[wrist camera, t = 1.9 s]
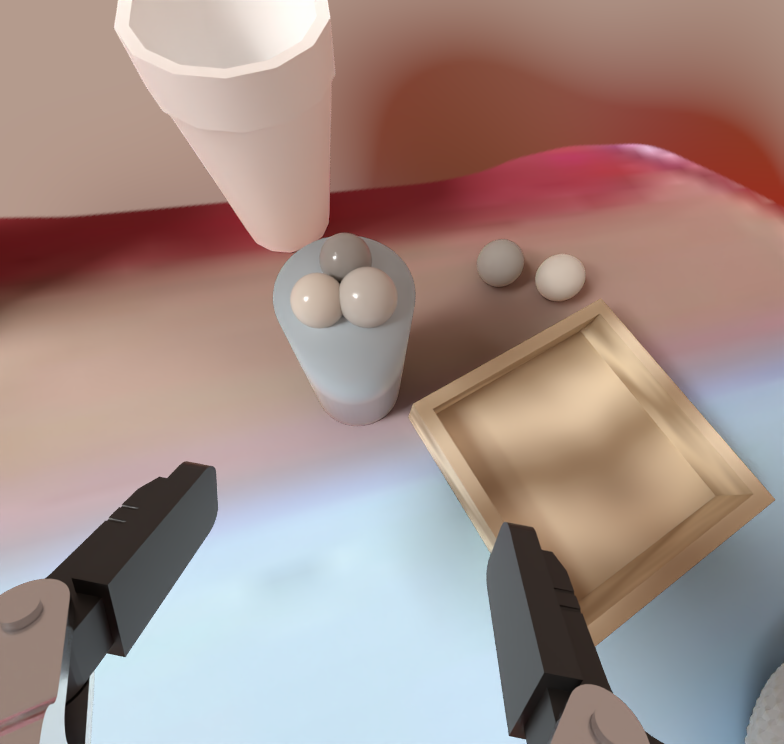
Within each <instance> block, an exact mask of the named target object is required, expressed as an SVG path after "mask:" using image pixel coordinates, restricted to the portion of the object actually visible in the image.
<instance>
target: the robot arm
mask: <svg viewBox="0 0 784 744" xmlns="http://www.w3.org/2000/svg"><path fill="white" fill-rule="evenodd" d="M217 511H218V501H217V482H216V470H215V468H214V467H213V466H208V465H203V464H198V463H192V462H183V463H182V464H181V465H179V466H178V467H177V469H176V470H175V471H174V472H173V473H172V474H171V475H170V476H169V477H168V478H163V477H158V478H157V479H155V480H153V481H151V482H149V483H148V484H146V485H144V486H142V487H140V488H139V489H138V490H136V491H135V492H134V493H133V494H132V495H131V496H130V497H129V498H128V499H127V500H126V501H125V502H124V503H123V504H122V507H121V508H120V507H119V508H118V509H117V510H116V511H115V512H114V513H113V514H112V515H111V516H110V517H109V519H108V521H105V522H104V523H103V524H102V525H100V526H99V527H98V528H97V529H96V530H95V531H94V532H93V533H92V534H91V535H90V536H89V537H88V538H87V539H86V540H85V541H84V542H83V543H82V544H81V545H80V546H79V547H78V548H77V549H76V550H75V551H74V552H73V553H72V554H71V555H70V556H69V557H68V558H67V559H66V560H64V561H63V562H62V563H61V564H60V565H59V566H58V567H57V568H56V569H55V570H54V571H53V572H52V573H51V574H50V575H49V576H48V577H46V578H45V579H39V580H34V581H30V582H27V583H24V584H21V585H18V586H16V587H14V588H12V589H10V590H8V591H6V592H4V593H3V594H1V595H0V744H91V732H92V715H93V698H94V681H95V674H94V670H95V669H96V667H97V666H98V665H99V663H100V662H101V660H102V659H103V658H104V656H105V655H106V653H108V654H113V655H118V656H123V657H126V655H127V654H128V652H129V651H130V649H131V648H132V646H133V645H134V643H135V642H136V640H137V639H138V637H139V636H140V635H141V633H142V632H143V630H144V629H145V627H146V626H147V624H148V623H149V621H150V620H151V618H152V617H153V615H154V614H155V612H156V611H157V609H158V608H159V606H160V605H161V603H162V602H163V600H164V599H165V598H166V596H167V595H168V593H169V592H170V590H171V589H172V587H173V586H174V584H175V583H176V581H177V580H178V578H179V577H180V575H181V574H182V572H183V571H184V569H185V568H186V566H187V565H188V563H189V562H190V560H191V559H192V558H193V556H194V555H195V553H196V552H197V550H198V549H199V547H200V546H201V544H202V543H203V541H204V540H205V538H206V537H207V535H208V534H209V532H210V531H211V529H212V527H213V525H214V522H215V520H216V516H217ZM487 589H488V596H489V603H490V610H491V617H492V624H493V630H494V637H495V644H496V651H497V658H498V665H499V671H500V678H501V685H502V692H503V699H504V706H505V712H506V719H507V726H508V733H509V736H512V737H517V738H522V739H526V742H527V744H664V743H662V742H660V741H659V740H657V739H655V738H654V737H652V736H651V735H649V734H648V733H647V732H645V731H644V729H643V727H642V725H641V724H640V722H639V720H638V719H637V717H636V716H635V715H634V713H633V712H632V711H631V710H630V709H629V707H628V706H627V705H626V704H625V703H624V702H623V701H622V700H620V699H619V698H618V697H617V696H615V695H614V694H613V692H612V690H611V688H610V686H609V684H608V681H607V678H606V676H605V673H604V670H603V668H602V665H601V662H600V659H599V657H598V654H597V651H596V649H595V646H594V643H593V640H592V638H591V635H590V632H589V630H588V627H587V624H586V622H585V619H584V616H583V614H582V613H581V608H580V605H579V603H578V600H577V597H576V596H575V595H574V589H573V586H572V584H571V581H570V578H569V576H568V573H567V570H566V569H565V568H564V566H563V565H562V564H561V563H560V561H559V560H558V559H557V557H556V556H555V555H554V553H553V552H551V551H546V550H542V549H541V546H540V543H539V540H538V537H537V534H536V531H535V529H534V528H533V527H530V526H525V525H519V524H514V523H509V522H504V523H503V524H502V526H501V528H500V531H499V533H498V536H497V539H496V542H495V544H494V547H493V550H492V552H491V555H490V558H489V561H488V565H487Z"/></svg>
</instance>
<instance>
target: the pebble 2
mask: <svg viewBox="0 0 784 744" xmlns="http://www.w3.org/2000/svg"><path fill="white" fill-rule="evenodd" d="M585 276H586V273H585V269H584V266H583V264H582V263H581V261H580V260H579V259H577V258H576V257H574V256H572V255H569V254H557V255H554V256H551V257H549V258H548V259H546V260H545V261H544V262H543V263H542V264H541V265H540V266H539V268H538V270H537V272H536V276H535V283H536V287H537V289H538V291H539V293H540V294H541V295H542V296H543V297H545V298H547V299H549V300H552V301H564V300H567V299H570V298H572V297H573V296H575V295H576V294H577V293H578V292H579V291H580V290H581V288H582V287H583V285H584V282H585Z"/></svg>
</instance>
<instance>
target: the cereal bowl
mask: <svg viewBox="0 0 784 744" xmlns="http://www.w3.org/2000/svg"><path fill="white" fill-rule="evenodd" d="M745 744H784V663H782V664H781V666H780V667H778V668H777V670H776V672H775V673H773V674H772V675H771V676H770V679H768V680H767V683H766V684H765V687H764V688H763V689H762V690H761V694H760V697H759V698H758V699H757V700H756V706H755V707H754V708H753V714H752V716H751V717H750V724H749V725H748V727H747V736H746V737H745Z"/></svg>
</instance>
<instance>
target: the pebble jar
mask: <svg viewBox="0 0 784 744" xmlns="http://www.w3.org/2000/svg"><path fill="white" fill-rule="evenodd" d="M415 296H416V293H415V285H414V281H413V277H412V275H411V273H410V271H409V269H408V267H407V266H406V264H405V263H404V261H403V260H402V259H401V258H400V257H399V256H398V255H397V254H396V253H395V252H394V251H392V250H391V249H390V248H388V247H387V246H385V245H383V244H381V243H379V242H377V241H374V240H372V239H368V238H365V237H360V236H357V235H355V234H352V233H338V234H335V235H333V236H331V237H327V238H323V239H320V240H317V241H314V242H312V243H310V244H308V245H306V246H304V247H303V248H301V249H300V250H298V251H297V252H296V253H295V254H293V255H292V256H291V257H290V258H289V259H288V260H287V262H286V263H285V264H284V266H283V267H282V268H281V270H280V272H279V274H278V276H277V279H276V282H275V285H274V290H273V305H274V310H275V314H276V317H277V319H278V321H279V323H280V325H281V327H282V329H283V331H284V333H285V335H286V337H287V339H288V341H289V343H290V345H291V347H292V349H293V351H294V353H295V355H296V357H297V359H298V361H299V363H300V365H301V367H302V369H303V371H304V373H305V375H306V377H307V379H308V381H309V382H310V384H311V386H312V388H313V390H314V392H315V394H316V396H317V398H318V400H319V402H320V404H321V406H322V407H323V409H324V410H325V412H326V413H327V414H328V415H329V416H330V417H332V418H333V419H335V420H336V421H338V422H340V423H343V424H346V425H351V426H364V425H369V424H372V423H374V422H376V421H379V420H380V419H382V418H383V417H384V416H386V415H387V414H388V413H389V412H390V411H391V409H392V408H393V406H394V405H395V403H396V401H397V398H398V395H399V390H400V384H401V378H402V373H403V367H404V362H405V356H406V350H407V345H408V339H409V334H410V328H411V323H412V317H413V311H414V306H415Z"/></svg>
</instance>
